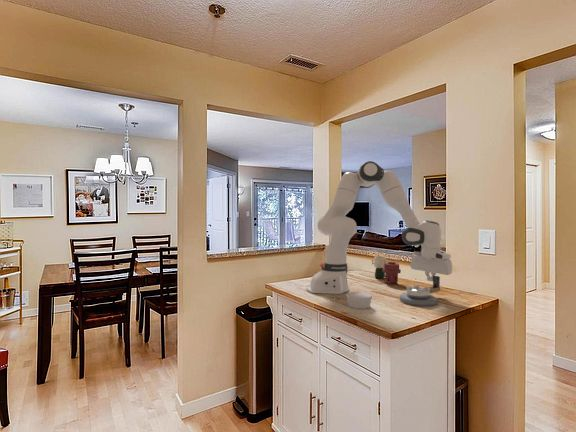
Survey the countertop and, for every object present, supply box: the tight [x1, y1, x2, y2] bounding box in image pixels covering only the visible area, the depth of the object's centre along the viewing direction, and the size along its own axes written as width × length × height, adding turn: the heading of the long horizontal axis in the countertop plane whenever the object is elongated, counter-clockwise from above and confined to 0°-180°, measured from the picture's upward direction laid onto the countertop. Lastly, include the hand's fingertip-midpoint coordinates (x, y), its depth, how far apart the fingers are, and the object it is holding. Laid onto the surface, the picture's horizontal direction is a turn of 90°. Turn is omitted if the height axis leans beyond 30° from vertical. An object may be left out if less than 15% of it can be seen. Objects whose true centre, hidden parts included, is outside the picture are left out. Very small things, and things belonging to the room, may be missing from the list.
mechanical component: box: [383, 261, 402, 285], centre depth 195 cm, size 12×10×10 cm
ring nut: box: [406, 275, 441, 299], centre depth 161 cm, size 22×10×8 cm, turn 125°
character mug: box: [371, 255, 390, 279], centre depth 209 cm, size 11×7×13 cm, turn 55°
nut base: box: [399, 292, 438, 307], centre depth 158 cm, size 16×16×2 cm
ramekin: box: [345, 291, 373, 310], centre depth 149 cm, size 11×11×5 cm
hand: (430, 280), depth 169 cm, fingers closed
